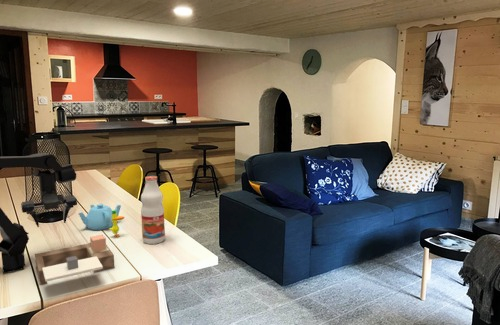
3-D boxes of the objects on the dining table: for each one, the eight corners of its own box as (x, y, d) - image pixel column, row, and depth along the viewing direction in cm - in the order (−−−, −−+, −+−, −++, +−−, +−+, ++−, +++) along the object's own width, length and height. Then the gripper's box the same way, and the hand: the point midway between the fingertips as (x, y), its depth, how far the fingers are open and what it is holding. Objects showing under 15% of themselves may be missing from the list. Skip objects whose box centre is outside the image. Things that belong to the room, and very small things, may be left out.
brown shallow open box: (40, 285, 129) (38, 270, 128) (36, 266, 142) (34, 253, 142) (114, 267, 142) (113, 254, 141) (104, 252, 155) (103, 240, 154)
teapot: (77, 231, 178) (75, 208, 176) (92, 220, 193) (90, 199, 191) (110, 232, 178) (108, 209, 176) (122, 221, 192) (121, 200, 190)
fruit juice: (162, 235, 174) (160, 173, 169) (167, 242, 166) (164, 178, 161) (140, 238, 170) (137, 175, 165) (144, 246, 162) (141, 180, 157)
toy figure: (124, 233, 176) (123, 208, 173) (126, 236, 172) (124, 210, 170) (108, 236, 172) (107, 210, 170) (110, 239, 169) (108, 212, 167)
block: (93, 252, 143) (92, 240, 142) (90, 248, 146) (90, 236, 146) (106, 249, 145) (105, 238, 144) (103, 245, 149) (102, 234, 148)
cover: (45, 281, 120) (44, 270, 120) (42, 270, 128) (41, 259, 128) (102, 268, 130) (102, 257, 129) (96, 258, 137) (95, 248, 137)
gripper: (20, 194, 137) (25, 236, 140) (78, 187, 147) (81, 226, 150) (19, 187, 146) (23, 227, 149) (73, 181, 156) (76, 218, 159)
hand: (51, 224), depth 151 cm, fingers open, 9 cm apart
